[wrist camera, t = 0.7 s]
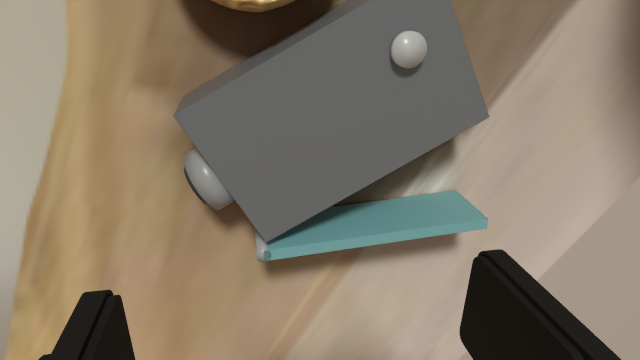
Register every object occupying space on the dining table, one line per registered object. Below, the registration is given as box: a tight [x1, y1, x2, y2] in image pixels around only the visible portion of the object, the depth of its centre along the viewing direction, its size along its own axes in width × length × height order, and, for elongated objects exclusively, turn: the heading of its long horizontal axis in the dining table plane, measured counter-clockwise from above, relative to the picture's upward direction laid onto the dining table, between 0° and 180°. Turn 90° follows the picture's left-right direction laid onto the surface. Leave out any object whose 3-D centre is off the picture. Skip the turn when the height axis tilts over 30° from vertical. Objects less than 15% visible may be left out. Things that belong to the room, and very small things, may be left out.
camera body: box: [173, 0, 489, 242], centre depth 32 cm, size 22×12×7 cm, turn 118°
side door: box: [254, 190, 488, 262], centre depth 37 cm, size 20×1×6 cm, turn 93°
